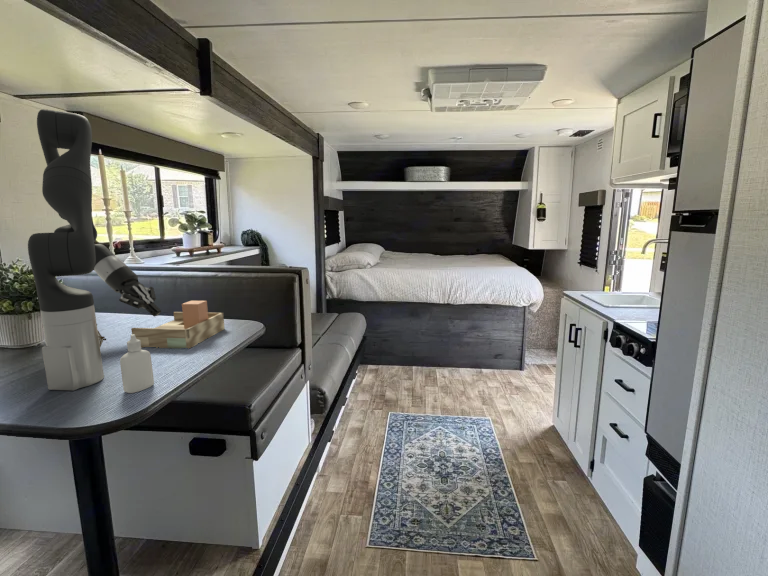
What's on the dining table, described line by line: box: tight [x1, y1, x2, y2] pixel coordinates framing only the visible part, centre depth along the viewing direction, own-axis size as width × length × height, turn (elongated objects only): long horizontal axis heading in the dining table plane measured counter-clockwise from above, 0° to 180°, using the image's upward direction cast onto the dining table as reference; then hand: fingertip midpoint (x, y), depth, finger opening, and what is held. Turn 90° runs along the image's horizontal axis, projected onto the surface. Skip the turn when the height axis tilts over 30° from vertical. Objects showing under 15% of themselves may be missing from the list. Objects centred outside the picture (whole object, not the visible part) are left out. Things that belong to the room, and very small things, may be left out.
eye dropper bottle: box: [119, 334, 155, 394], centre depth 85 cm, size 4×6×12 cm
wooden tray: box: [131, 311, 225, 350], centre depth 122 cm, size 20×17×6 cm
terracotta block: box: [181, 300, 209, 329], centre depth 121 cm, size 5×5×8 cm
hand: (158, 314), depth 122 cm, fingers closed
